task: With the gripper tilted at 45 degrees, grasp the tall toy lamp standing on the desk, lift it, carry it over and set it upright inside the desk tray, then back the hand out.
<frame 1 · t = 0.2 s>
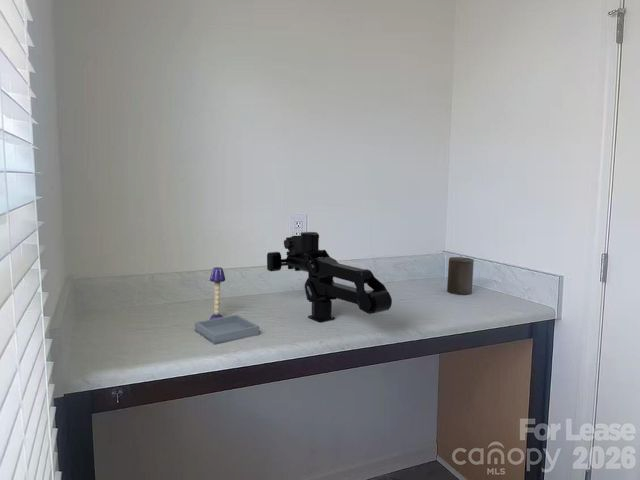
hand: (278, 256, 165), 17 cm above the table, tool horizontal, fingers open, 9 cm apart
desk tray: (226, 332, 132), on the table
toy lamp: (217, 320, 144), on the table
pillar candle: (459, 292, 186), on the table
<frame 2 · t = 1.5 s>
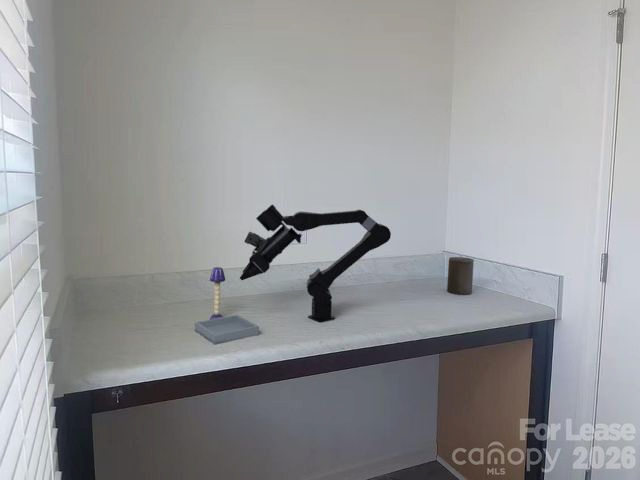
hand: (242, 275, 144), 14 cm above the table, tool tilted 45°, fingers open, 9 cm apart
nothing on the table moved.
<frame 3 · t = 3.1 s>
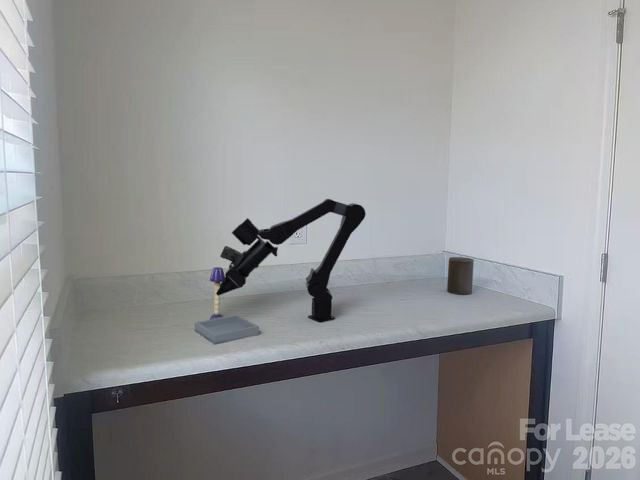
hand: (218, 290, 143), 9 cm above the table, tool tilted 45°, fingers open, 9 cm apart
nothing on the table moved.
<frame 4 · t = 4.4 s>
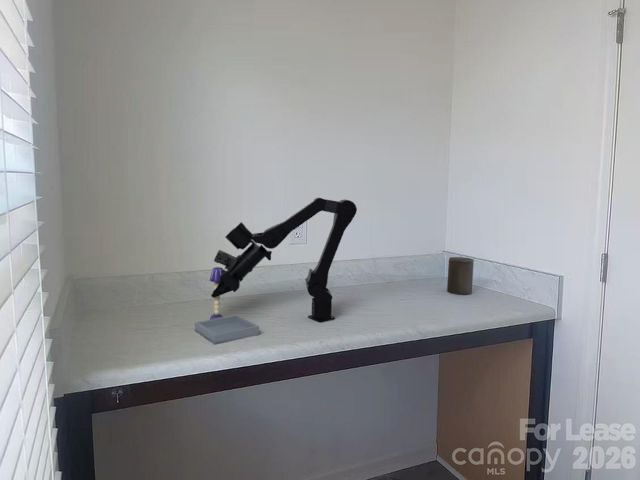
hand: (213, 295, 143), 8 cm above the table, tool tilted 45°, fingers closed on toy lamp, 4 cm apart
toy lamp: (217, 320, 144), on the table, touching gripper
everything else where it was.
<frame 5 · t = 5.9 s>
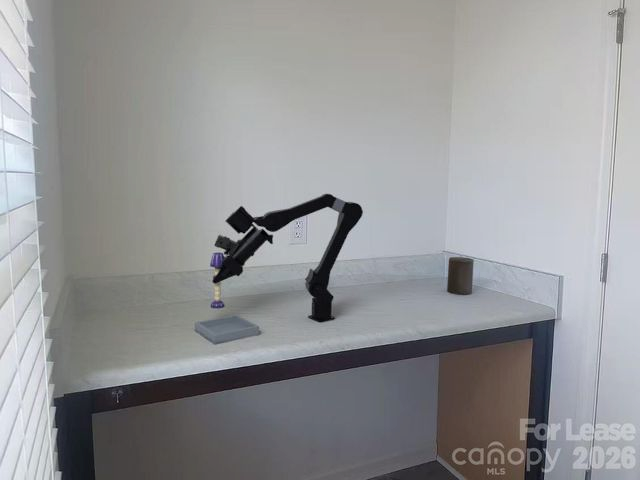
hand: (213, 281, 139), 13 cm above the table, tool tilted 45°, fingers closed on toy lamp, 4 cm apart
toy lamp: (218, 307, 140), point 5 cm above the table, touching gripper
everything else where it was.
when the fingers open (10 cm above the table, at t = 7.9 s): toy lamp stays where it is, resting on desk tray.
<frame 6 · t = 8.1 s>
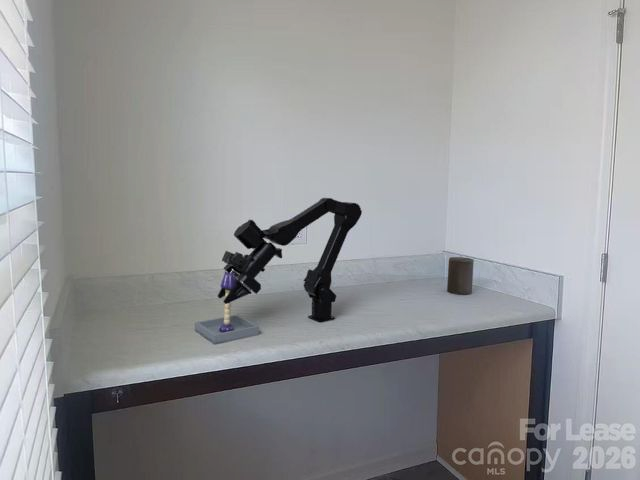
hand: (221, 300, 130), 10 cm above the table, tool tilted 45°, fingers open, 6 cm apart
toy lamp: (227, 331, 132), resting on desk tray
everything else where it was.
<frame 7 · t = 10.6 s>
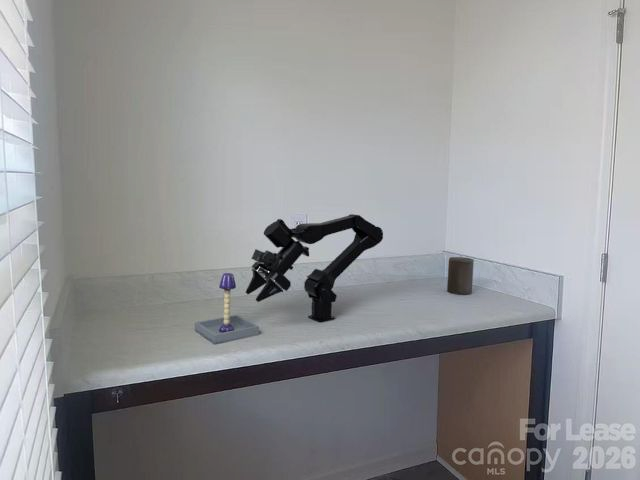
hand: (251, 297, 134), 10 cm above the table, tool tilted 45°, fingers open, 9 cm apart
nothing on the table moved.
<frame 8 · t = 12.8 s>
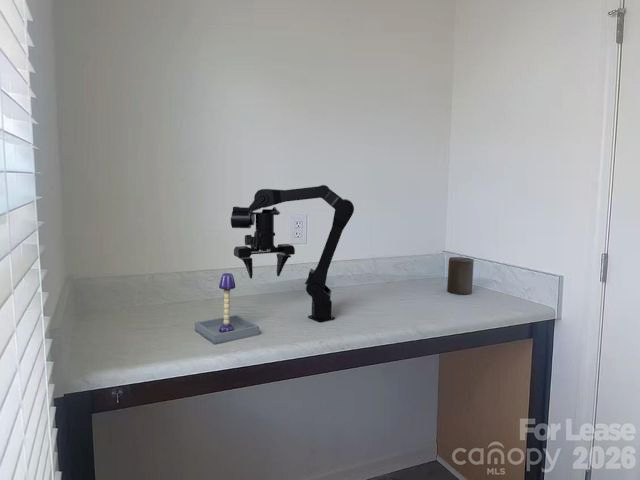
hand: (264, 277, 147), 13 cm above the table, tool pointing down, fingers open, 9 cm apart
nothing on the table moved.
at the end: toy lamp inside the target area on the desk tray (0.3 cm from its centre), point 0.4 cm above the desk tray's base; toy lamp tilted 0°; the gripper is holding nothing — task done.
